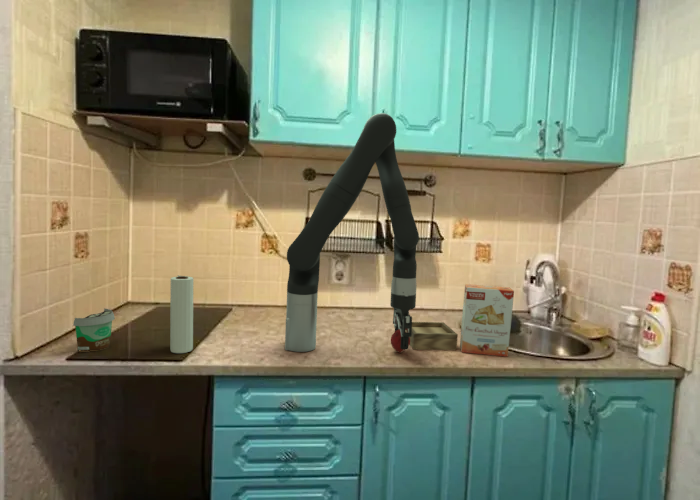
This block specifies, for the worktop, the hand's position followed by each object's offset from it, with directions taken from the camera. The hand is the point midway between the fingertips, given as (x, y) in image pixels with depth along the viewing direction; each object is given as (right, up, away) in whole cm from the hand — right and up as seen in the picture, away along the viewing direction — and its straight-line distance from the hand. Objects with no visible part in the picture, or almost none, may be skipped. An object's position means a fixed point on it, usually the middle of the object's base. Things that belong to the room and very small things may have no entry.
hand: (401, 344), depth 131 cm
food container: (-87, 0, -7) cm, 87 cm away
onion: (0, -3, 0) cm, 3 cm away
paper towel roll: (-64, -1, -6) cm, 64 cm away
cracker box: (+26, -4, +4) cm, 27 cm away
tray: (+10, -2, +11) cm, 16 cm away
